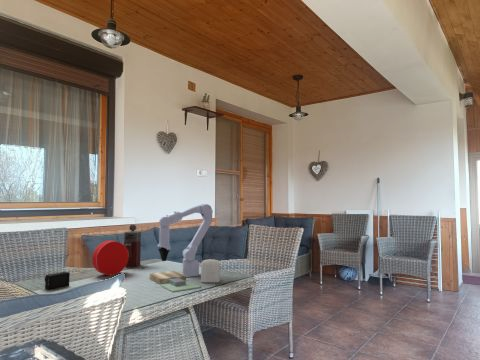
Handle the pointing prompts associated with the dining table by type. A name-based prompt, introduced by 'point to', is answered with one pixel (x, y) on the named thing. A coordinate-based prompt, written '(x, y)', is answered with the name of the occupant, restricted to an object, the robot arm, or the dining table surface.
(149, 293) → the dining table surface
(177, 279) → the slate tile
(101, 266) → the red thick disc
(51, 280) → the digital camera
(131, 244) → the glass decanter
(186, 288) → the mat
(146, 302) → the dining table surface
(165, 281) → the deck
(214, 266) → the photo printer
